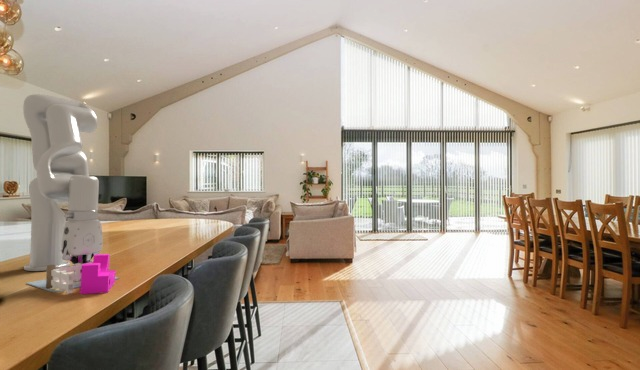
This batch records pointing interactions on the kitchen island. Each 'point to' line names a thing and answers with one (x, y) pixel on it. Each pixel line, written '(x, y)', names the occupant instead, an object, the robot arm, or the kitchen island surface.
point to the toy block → (97, 275)
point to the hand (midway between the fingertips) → (80, 276)
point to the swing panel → (75, 268)
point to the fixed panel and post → (59, 279)
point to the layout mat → (42, 285)
